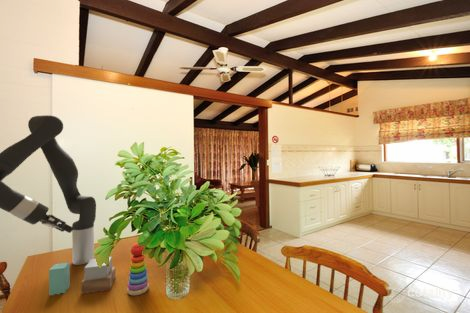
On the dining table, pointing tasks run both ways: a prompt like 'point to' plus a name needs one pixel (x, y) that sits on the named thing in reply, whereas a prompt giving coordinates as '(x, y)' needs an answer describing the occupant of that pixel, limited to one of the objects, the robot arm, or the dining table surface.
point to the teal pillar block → (59, 278)
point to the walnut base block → (98, 283)
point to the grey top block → (97, 270)
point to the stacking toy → (137, 272)
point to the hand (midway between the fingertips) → (68, 230)
